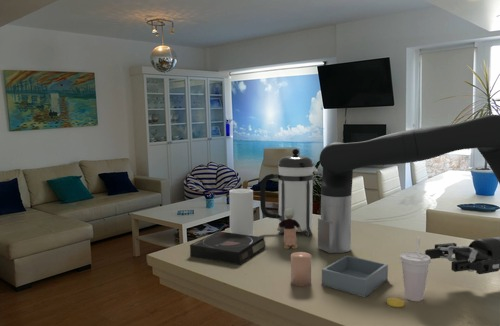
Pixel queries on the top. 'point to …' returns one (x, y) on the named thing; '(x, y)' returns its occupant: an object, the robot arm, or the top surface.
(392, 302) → the yellow disc
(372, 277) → the tote
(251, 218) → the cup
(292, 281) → the canister
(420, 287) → the smoothie
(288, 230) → the grandmother figurine
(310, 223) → the coffee press
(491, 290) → the top surface
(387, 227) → the top surface
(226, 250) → the portable cd player
